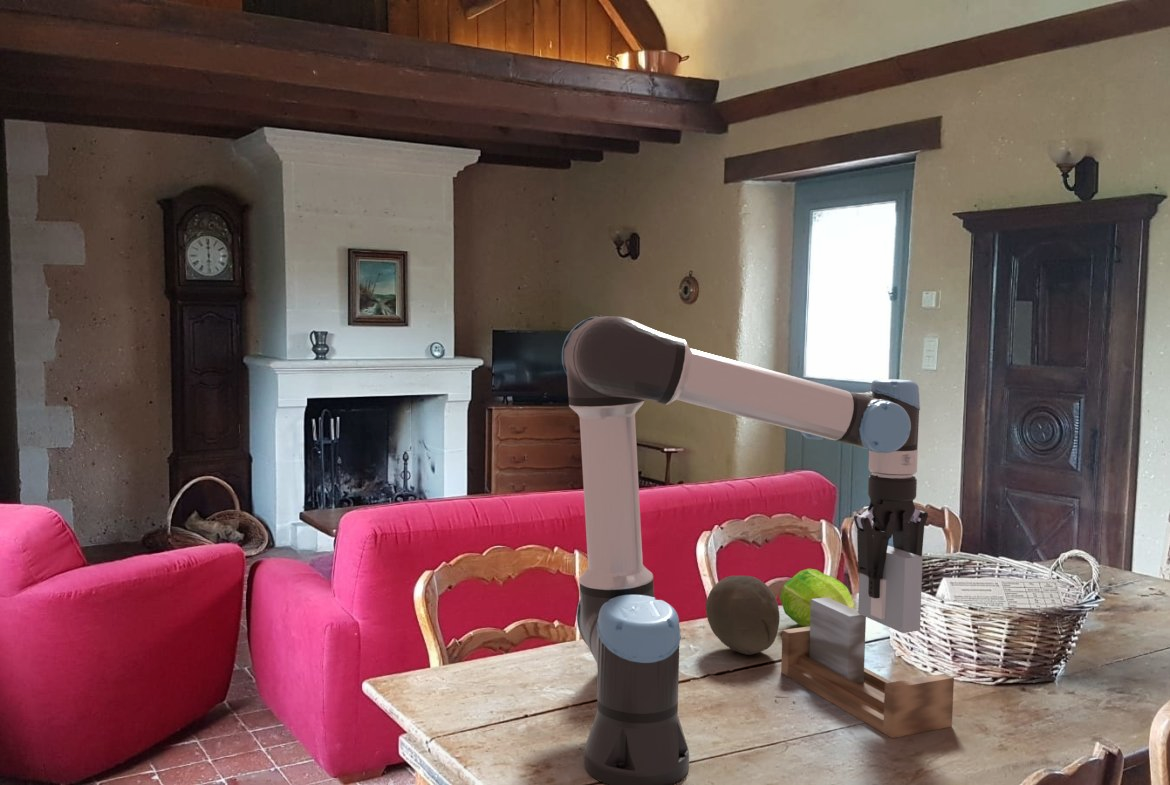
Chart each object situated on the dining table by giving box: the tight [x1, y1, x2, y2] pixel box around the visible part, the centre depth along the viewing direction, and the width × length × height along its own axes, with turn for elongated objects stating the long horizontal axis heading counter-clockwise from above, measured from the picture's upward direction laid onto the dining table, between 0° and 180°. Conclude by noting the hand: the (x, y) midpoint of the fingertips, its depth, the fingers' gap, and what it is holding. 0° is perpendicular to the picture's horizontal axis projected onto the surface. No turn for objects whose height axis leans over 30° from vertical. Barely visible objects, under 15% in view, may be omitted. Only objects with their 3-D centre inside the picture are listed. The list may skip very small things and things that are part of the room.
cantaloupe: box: [705, 575, 780, 656], centre depth 188 cm, size 14×14×15 cm
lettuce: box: [779, 568, 857, 628], centre depth 201 cm, size 14×20×12 cm
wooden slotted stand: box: [780, 597, 955, 739], centre depth 166 cm, size 12×30×14 cm, turn 23°
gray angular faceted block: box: [857, 545, 924, 634], centre depth 160 cm, size 4×11×12 cm, turn 23°
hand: (888, 615), depth 160 cm, fingers closed on gray angular faceted block, 3 cm apart
